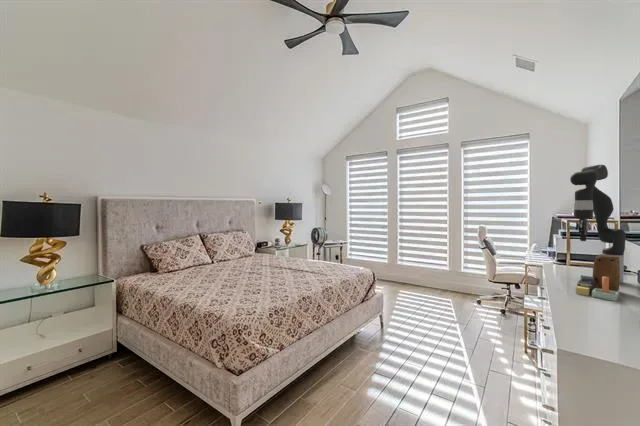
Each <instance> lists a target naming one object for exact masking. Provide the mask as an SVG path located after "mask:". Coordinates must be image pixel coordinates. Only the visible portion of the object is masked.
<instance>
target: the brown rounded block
mask: <svg viewBox="0 0 640 426" xmlns="http://www.w3.org/2000/svg"><path fill="white" fill-rule="evenodd" d="M592 277H593V283H594V289H595V288H598V289H602V277H609V290H611V291H617V292H620V291H619V290H620V284H621V283H620V261H619V257H618V256H611V255H603V254H597V255H596V256H595V259H594V261H593V266H592Z"/></svg>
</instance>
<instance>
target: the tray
mask: <svg viewBox="0 0 640 426" xmlns="http://www.w3.org/2000/svg"><path fill="white" fill-rule="evenodd" d="M591 297H592V298H595V299H602V300H608V301H612V302H618V300H619V298H620V291H618V292H617V291H611V290H609V294H608V293H602V289H598V288H595V289H594V290H593V291H592V293H591Z"/></svg>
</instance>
